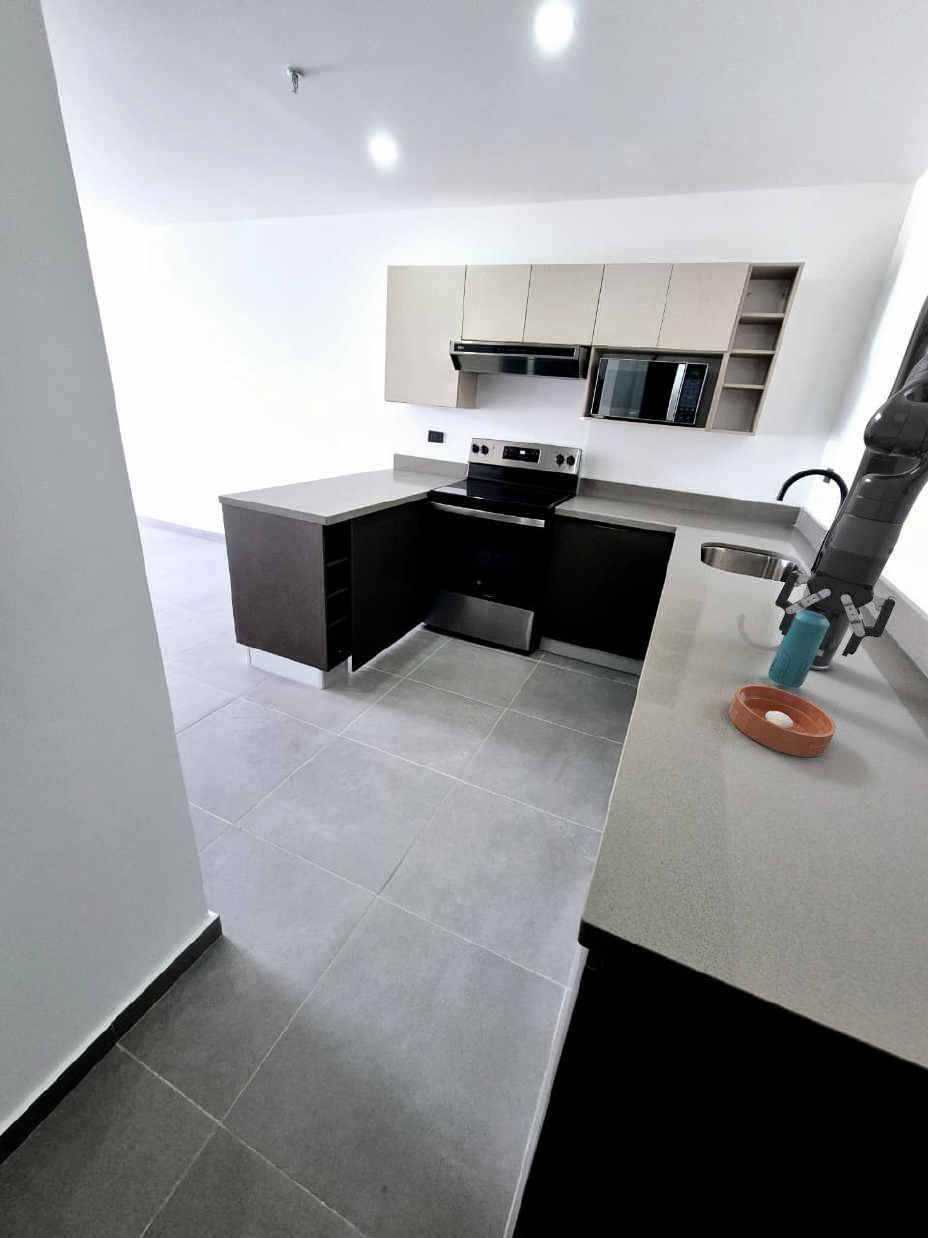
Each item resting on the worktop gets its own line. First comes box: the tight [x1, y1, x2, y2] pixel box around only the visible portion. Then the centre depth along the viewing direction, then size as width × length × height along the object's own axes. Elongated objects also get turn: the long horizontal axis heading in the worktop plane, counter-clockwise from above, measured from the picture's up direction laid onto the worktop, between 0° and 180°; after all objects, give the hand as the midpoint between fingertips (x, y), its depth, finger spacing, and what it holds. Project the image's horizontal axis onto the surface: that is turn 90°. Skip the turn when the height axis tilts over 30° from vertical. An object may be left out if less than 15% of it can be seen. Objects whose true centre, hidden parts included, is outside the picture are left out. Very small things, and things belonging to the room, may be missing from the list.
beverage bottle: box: [767, 603, 830, 689], centre depth 97 cm, size 6×7×20 cm
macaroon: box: [765, 711, 793, 729], centre depth 85 cm, size 4×5×2 cm
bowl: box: [728, 684, 837, 758], centre depth 85 cm, size 15×15×4 cm
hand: (813, 644), depth 78 cm, fingers open, 8 cm apart
